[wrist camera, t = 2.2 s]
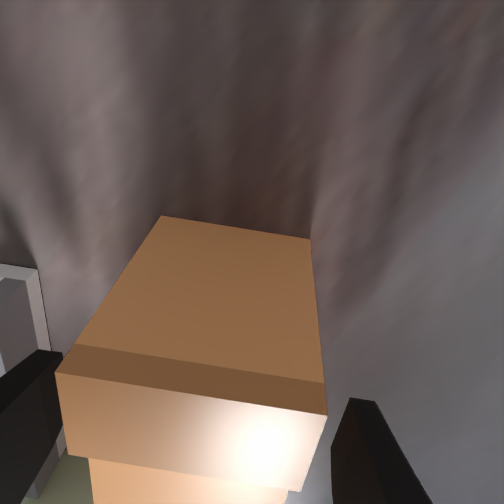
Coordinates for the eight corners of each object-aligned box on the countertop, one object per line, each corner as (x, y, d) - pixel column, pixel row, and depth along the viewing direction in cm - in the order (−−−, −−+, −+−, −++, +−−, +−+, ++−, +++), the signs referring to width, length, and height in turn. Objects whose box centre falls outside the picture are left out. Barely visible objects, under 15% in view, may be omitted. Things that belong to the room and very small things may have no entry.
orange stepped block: (309, 237, 11) (328, 416, 6) (264, 426, 15) (252, 626, 10) (162, 213, 11) (55, 372, 6) (157, 409, 15) (92, 599, 10)
